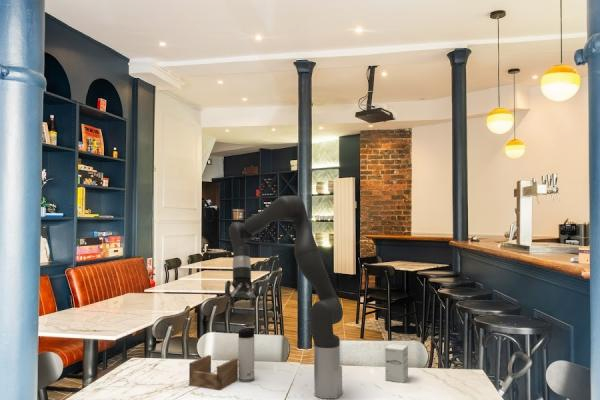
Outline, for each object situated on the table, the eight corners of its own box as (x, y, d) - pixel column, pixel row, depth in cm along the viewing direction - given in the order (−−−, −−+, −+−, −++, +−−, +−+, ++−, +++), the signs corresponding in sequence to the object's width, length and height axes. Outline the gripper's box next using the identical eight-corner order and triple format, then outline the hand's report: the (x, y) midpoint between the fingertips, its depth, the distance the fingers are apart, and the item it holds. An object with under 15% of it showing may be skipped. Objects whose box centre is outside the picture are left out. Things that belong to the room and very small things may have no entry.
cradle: (237, 380, 180) (237, 358, 180) (220, 390, 169) (220, 367, 169) (208, 375, 186) (208, 355, 186) (189, 385, 175) (189, 363, 175)
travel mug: (252, 382, 177) (252, 329, 178) (236, 381, 178) (236, 329, 179) (257, 377, 183) (257, 326, 184) (241, 376, 184) (241, 326, 185)
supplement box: (384, 380, 177) (384, 347, 178) (390, 375, 184) (389, 343, 185) (403, 383, 174) (403, 349, 175) (408, 377, 181) (408, 345, 181)
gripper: (228, 264, 186) (229, 305, 180) (261, 267, 193) (262, 306, 187) (222, 269, 192) (222, 308, 186) (253, 271, 199) (254, 309, 193)
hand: (242, 307), depth 186 cm, fingers open, 8 cm apart
